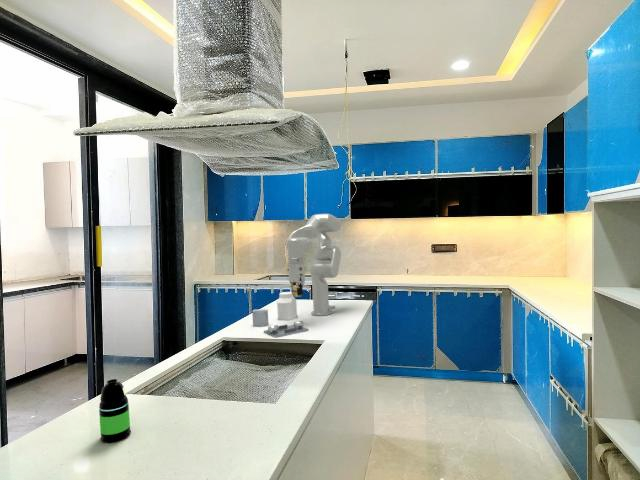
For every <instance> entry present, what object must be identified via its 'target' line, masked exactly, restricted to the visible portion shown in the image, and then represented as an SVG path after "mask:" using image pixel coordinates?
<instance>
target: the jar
mask: <svg viewBox="0 0 640 480" xmlns="http://www.w3.org/2000/svg"><path fill="white" fill-rule="evenodd" d="M278 295H279V297H278V299H277V301H276V304H277V305H276V309H277V319H278V321H292V320H294V319H297V318H298V309H297V298H296V297H293V294H292V291H283V292H279V294H278Z"/></svg>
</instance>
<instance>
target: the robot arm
mask: <svg viewBox="0 0 640 480" xmlns="http://www.w3.org/2000/svg"><path fill="white" fill-rule="evenodd" d="M341 226H342V223H341V220H340V219H339V218H338V217H336V216H334V215H332V214H331V213H317V214H316V213H315V214H313V215H311V216H310V218H309V219H308V221H307V222H306V224H305V225H304V226H302V227H300V228H298V229H296V230H294V231H293V232H292V233H290V235H289V236H288V238H287V240H286V243H285V246H286V249H287V257H288V281H289V283H290V287H291V292H292V294H293V287H292V285H297V287H298V288H297V295H298V296H299V295H302V296H303V295H304V294H303V292H304V291H303V289H304V288H303V287H304V284H305V283H306V274H305V267H304V264H303V252H305V251H309V250H310V249H311V248H312V244H313V243H312V240H311V239H312V238H315V237H317V246H316V250H315V255H314V256H315V260H316V261H315V262H313V263H312V264H311V265H310V266H309V272H310V277H311V286H312V303H313V304H312V305H313V307H312V308H313V310H312V311H311V313H310V314H311V315H312V316H322V317H323V316H328V315H331V314H332V313H333V312H332V310H334V309H336V305H330V301H329V284H328V282H327V280H326V279H327V278H329V279H333V278H336V277H338V274H339V272H340V271H339V270H340V264H341V259H342V258H341V257H342V252H341V248H340V247H338V246H336V245H335V246H334V245H332V238H331V237H330V236H329V235H328V233H334V232H335V233H336V232H339V231H340V229H341Z"/></svg>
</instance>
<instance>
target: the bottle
mask: <svg viewBox="0 0 640 480" xmlns="http://www.w3.org/2000/svg"><path fill="white" fill-rule="evenodd" d="M129 405H130V404H129V399H128V397H127V392H126V389H125V386H124V384H122V382H120V381H118V379H117V378H113V379H108V380H107V381H106V384H105V385H104V386H103V387H102V388H101V394H100V402H99V407H98V409H99V411H98V412H99V426H100V427H99V428H100V429H99V430H100V441H101V442H102V443H104V444H112V443H113V444H114V443H119V442H121V441H124V440H126V439H127V438H128V437H129V436H130V435H131V433H132V430H131V422H130V421H131V419H130V406H129Z"/></svg>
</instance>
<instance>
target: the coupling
mask: <svg viewBox="0 0 640 480" xmlns="http://www.w3.org/2000/svg"><path fill="white" fill-rule="evenodd" d="M292 287H293V297H294V298H298V297H299V298H300V297H303V295H299V296H298V295H297V288H298V287H297V284H296V285H292ZM292 287H291V288H292Z"/></svg>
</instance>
